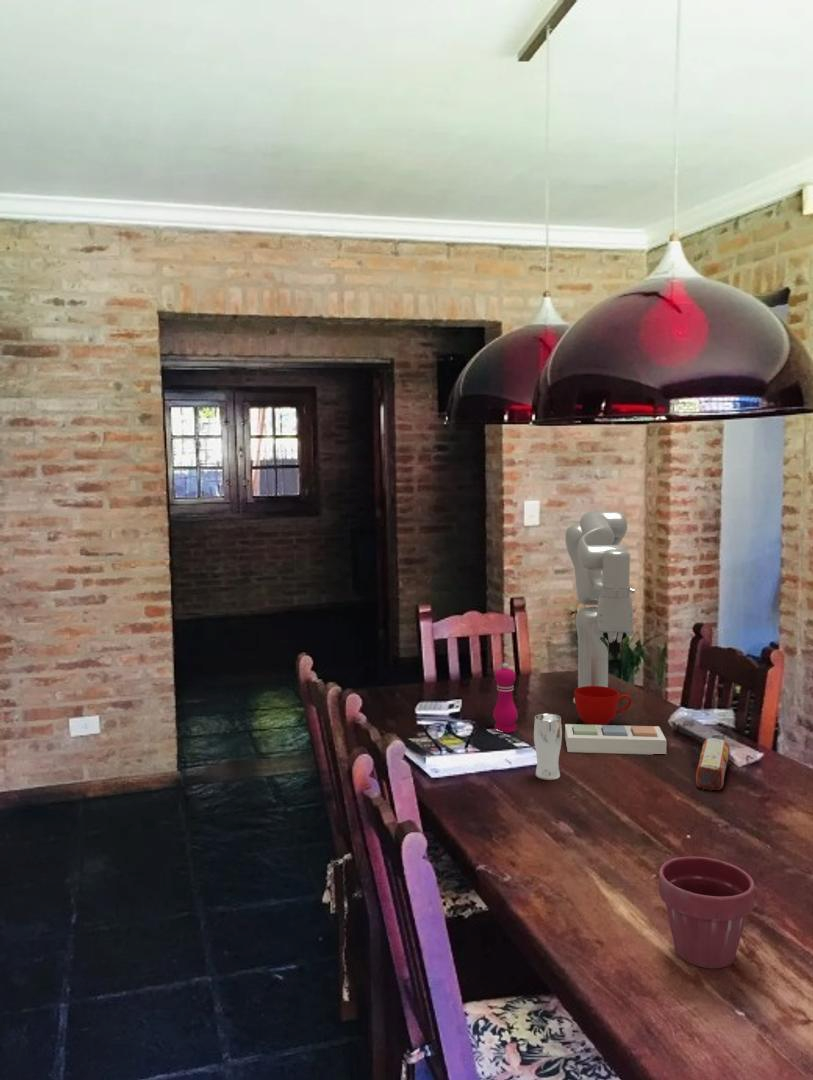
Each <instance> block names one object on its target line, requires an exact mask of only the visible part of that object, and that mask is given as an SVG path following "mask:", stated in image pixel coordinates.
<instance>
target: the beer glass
mask: <svg viewBox="0 0 813 1080" xmlns="http://www.w3.org/2000/svg"><path fill="white" fill-rule="evenodd" d="M562 727H563V725H562V717H561V716H560V715H559V714H558V715H557V714H554V713H540V714H539V713H538V714H536V715H535V716H534V724H533V742H534V747H535V753H536V768H535V769H536V770H535V777H537V778H538V779H540V780H546V781H553V780H558V779H559V778H560V777H561V773H560V772H561V771H560V767H559V759H560V752H561V747H562V739H563V729H562Z"/></svg>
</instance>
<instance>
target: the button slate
mask: <svg viewBox="0 0 813 1080" xmlns="http://www.w3.org/2000/svg"><path fill="white" fill-rule="evenodd" d="M624 726H625V725H619V726H617V725H612V724H611V725H609V724H608V725H602V733H603V735H604V736H627V732H626V729H625V727H624Z"/></svg>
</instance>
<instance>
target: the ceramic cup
mask: <svg viewBox="0 0 813 1080" xmlns="http://www.w3.org/2000/svg"><path fill="white" fill-rule="evenodd" d="M573 695H574V697H575V703H574V705H575V709H576V712H577V714H578V716H579V718H580V719H581V720H582V722H583V724H584V725H609V724H610V722H612V720H613V719H614V718H615V716H616V715H617V714H620V713H622V712H623V713H624V712H625V711H626V710H628V709H629V708H630V707H631V706H632V697H631V696H630V695H628V694H621V695H620V693H619V691H618V690H617V689H615V688H611V687H609V686H608V687H602V686H584V687H580V688H578V687H577V688H575V689H574V694H573ZM623 698H627V699H628V703H627V704H626V706H624V707H623V708H620V709H618V705H619V703H620V701H621V700H622V699H623Z"/></svg>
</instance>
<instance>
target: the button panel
mask: <svg viewBox="0 0 813 1080" xmlns="http://www.w3.org/2000/svg"><path fill="white" fill-rule="evenodd" d="M577 725H579V724H577ZM617 726H620V725H617ZM623 726H624V727H625V729H626V732H627V736H604V735H603V733H602V725H595V728H596V731H597V735H573V723H572V724H571V723H564V739H565V743H566V744H565V746H566V750H567V752H568V753H585V754H586V753H589V754H621V755H622V754H624V755H625V754H626V755H627V754H628V755H653V754H666V755H667V739H666V737H665V735H664V733H663V731H662V729H661V727H660V726H659V725H658V726H657V725H655V726H653V725H652V726H653V727H654V728H655V730H656V732H657V737H642V736H633V735H632V732H631V726H632V725H623Z"/></svg>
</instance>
